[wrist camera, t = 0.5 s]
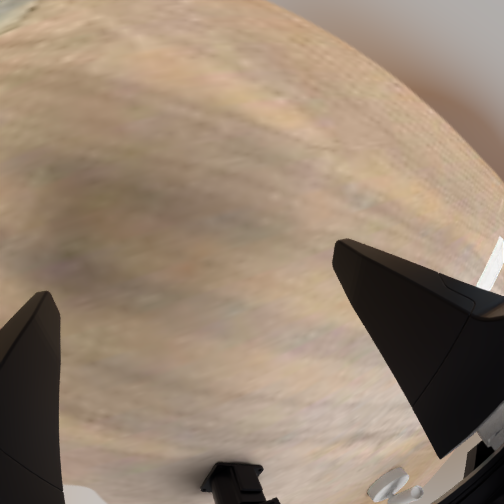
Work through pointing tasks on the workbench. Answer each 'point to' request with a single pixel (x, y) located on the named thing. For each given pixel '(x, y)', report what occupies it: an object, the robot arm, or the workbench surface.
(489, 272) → the butcher knife
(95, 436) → the workbench surface
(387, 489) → the wall hook
